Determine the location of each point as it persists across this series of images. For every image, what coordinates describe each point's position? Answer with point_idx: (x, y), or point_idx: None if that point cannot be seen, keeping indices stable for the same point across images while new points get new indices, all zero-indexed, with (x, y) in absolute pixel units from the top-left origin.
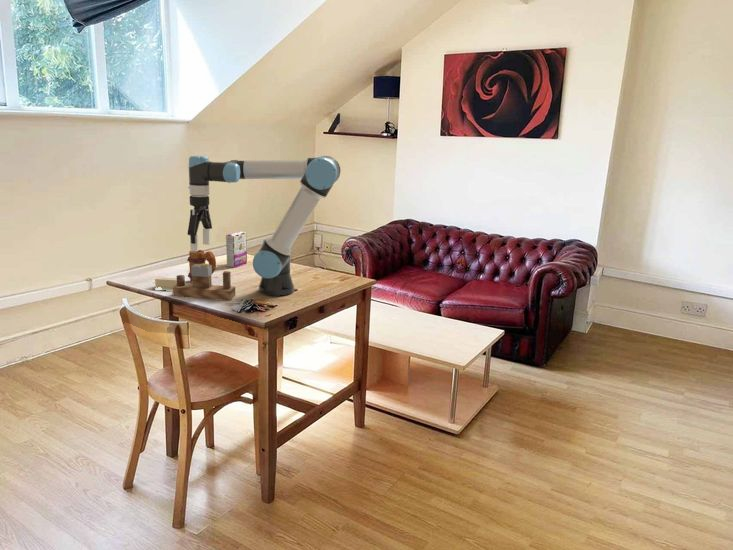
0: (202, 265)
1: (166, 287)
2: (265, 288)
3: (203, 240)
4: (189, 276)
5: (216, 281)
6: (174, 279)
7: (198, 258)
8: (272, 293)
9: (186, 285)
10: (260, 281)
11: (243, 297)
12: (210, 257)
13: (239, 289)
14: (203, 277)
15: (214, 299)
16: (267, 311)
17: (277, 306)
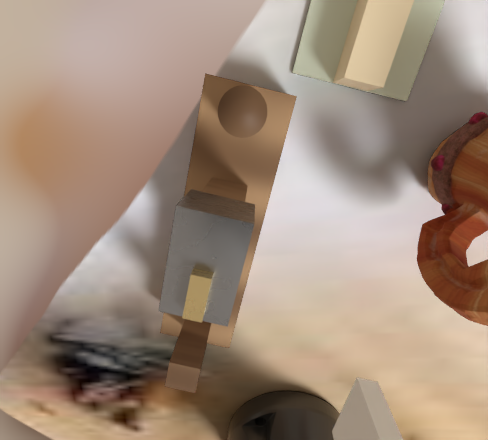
0: (191, 279)
1: (354, 12)
2: (241, 428)
3: (370, 427)
4: (469, 124)
5: None
6: (369, 52)
7: None
8: (228, 432)
9: (241, 142)
10: (295, 427)
11: (212, 346)
12: (471, 300)
13: (315, 332)
14: None
15: None
16: (75, 406)
17: (126, 430)
